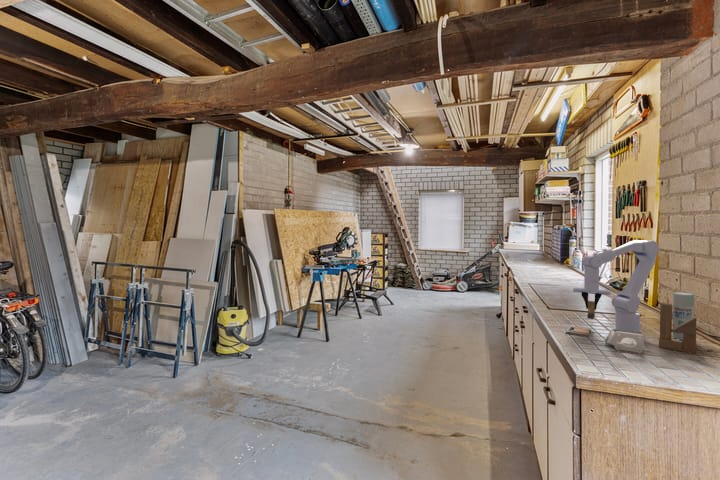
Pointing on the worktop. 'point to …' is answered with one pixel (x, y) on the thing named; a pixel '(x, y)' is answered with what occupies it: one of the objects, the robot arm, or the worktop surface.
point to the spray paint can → (682, 310)
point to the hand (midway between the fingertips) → (591, 308)
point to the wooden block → (685, 328)
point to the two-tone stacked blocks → (591, 310)
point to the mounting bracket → (625, 341)
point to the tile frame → (576, 332)
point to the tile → (581, 331)
